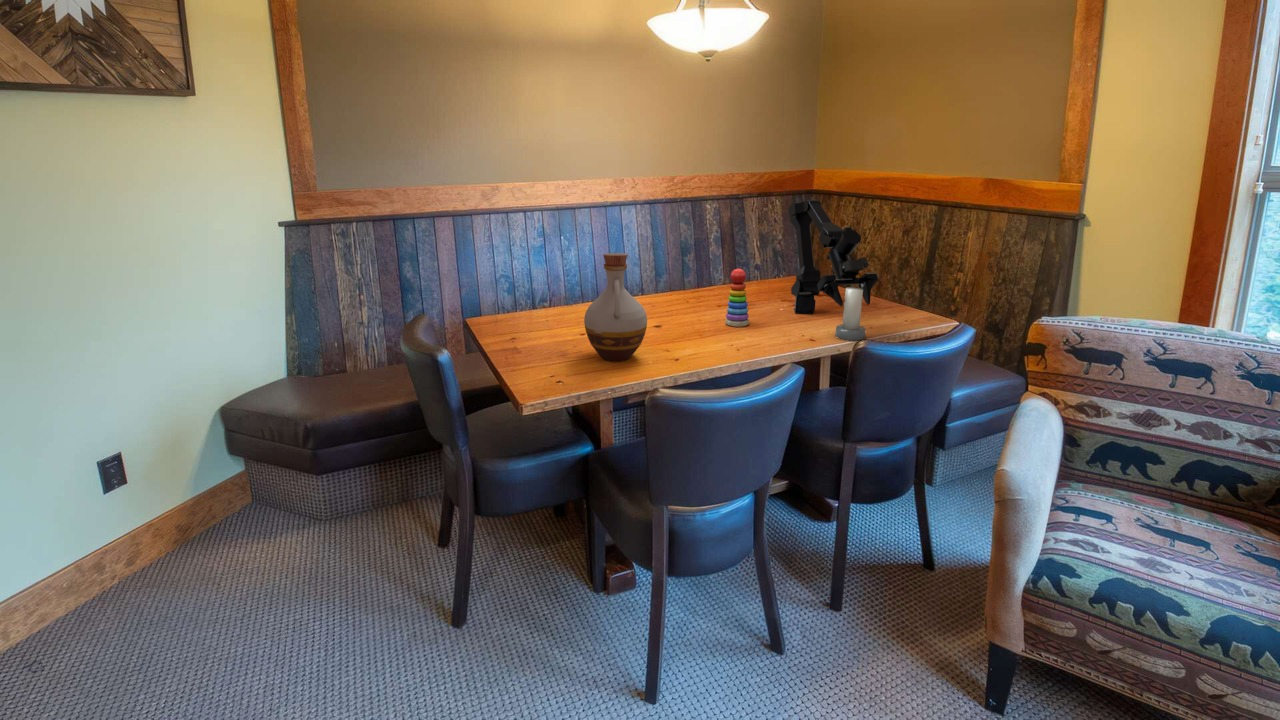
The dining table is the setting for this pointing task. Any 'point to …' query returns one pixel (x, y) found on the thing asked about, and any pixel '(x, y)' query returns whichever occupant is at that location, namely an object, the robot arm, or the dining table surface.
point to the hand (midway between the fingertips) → (855, 304)
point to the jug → (615, 315)
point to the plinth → (850, 333)
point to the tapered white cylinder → (852, 308)
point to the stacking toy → (737, 300)
